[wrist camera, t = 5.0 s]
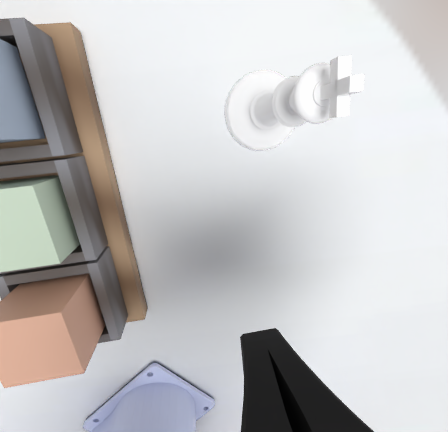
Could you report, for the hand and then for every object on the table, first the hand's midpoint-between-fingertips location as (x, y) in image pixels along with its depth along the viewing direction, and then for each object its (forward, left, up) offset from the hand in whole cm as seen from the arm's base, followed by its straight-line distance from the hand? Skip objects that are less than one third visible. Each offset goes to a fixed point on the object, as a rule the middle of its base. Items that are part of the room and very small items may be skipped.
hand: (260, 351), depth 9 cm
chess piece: (+8, +5, -11) cm, 14 cm away
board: (-6, +10, -10) cm, 16 cm away
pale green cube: (-6, +10, -9) cm, 14 cm away
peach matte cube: (-10, +5, -7) cm, 13 cm away
